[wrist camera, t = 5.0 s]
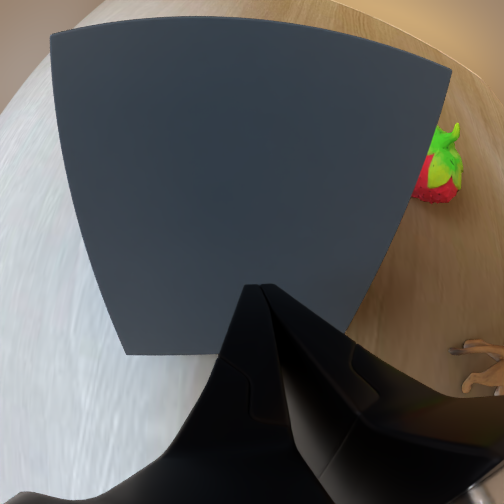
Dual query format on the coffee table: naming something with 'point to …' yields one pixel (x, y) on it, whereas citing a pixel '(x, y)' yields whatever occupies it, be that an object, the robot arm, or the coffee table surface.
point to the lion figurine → (496, 375)
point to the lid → (236, 165)
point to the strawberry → (440, 169)
